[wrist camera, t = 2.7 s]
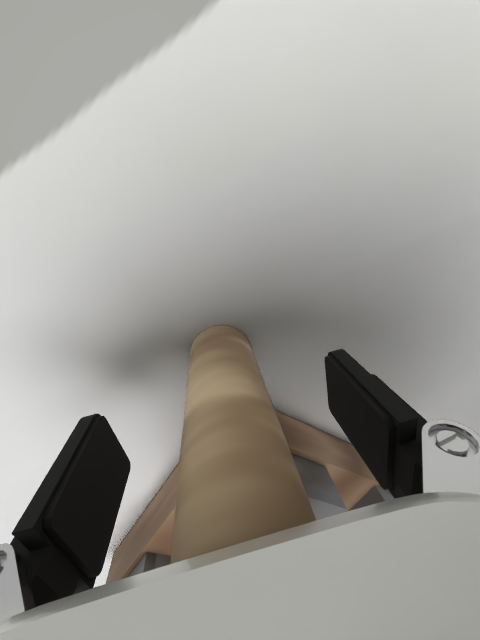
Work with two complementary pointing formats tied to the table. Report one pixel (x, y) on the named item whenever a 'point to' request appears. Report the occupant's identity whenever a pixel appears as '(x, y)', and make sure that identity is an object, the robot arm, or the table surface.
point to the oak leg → (232, 453)
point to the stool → (317, 478)
